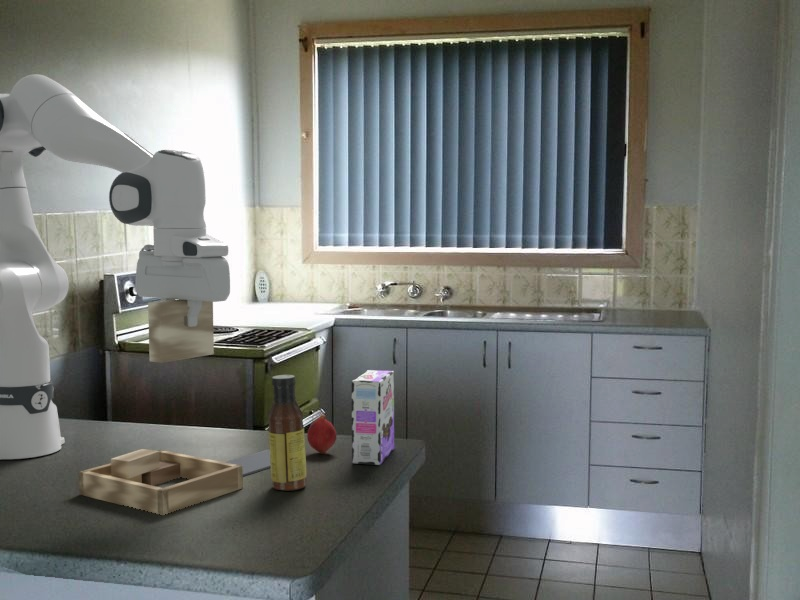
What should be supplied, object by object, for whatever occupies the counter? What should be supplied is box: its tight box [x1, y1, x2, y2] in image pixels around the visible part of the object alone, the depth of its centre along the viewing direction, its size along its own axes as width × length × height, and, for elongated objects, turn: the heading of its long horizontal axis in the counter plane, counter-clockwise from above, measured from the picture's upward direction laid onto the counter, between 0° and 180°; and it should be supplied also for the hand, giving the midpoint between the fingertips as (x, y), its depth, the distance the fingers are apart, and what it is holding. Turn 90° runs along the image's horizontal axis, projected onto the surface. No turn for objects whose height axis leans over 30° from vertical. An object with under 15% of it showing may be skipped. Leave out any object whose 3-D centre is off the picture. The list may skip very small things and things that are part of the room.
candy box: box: [351, 369, 395, 466], centre depth 190 cm, size 14×6×16 cm, turn 168°
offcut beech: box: [110, 448, 160, 478], centre depth 170 cm, size 4×8×3 cm, turn 153°
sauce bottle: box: [267, 374, 308, 492], centre depth 169 cm, size 7×6×20 cm
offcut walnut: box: [142, 460, 181, 486], centre depth 174 cm, size 4×7×3 cm, turn 146°
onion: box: [306, 414, 337, 455], centre depth 193 cm, size 6×6×8 cm
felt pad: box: [224, 448, 271, 477], centre depth 186 cm, size 9×17×1 cm, turn 146°
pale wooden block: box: [147, 299, 215, 364], centre depth 166 cm, size 3×12×10 cm, turn 145°
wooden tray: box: [78, 449, 244, 516], centre depth 167 cm, size 21×18×4 cm
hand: (181, 325), depth 166 cm, fingers closed on pale wooden block, 3 cm apart
